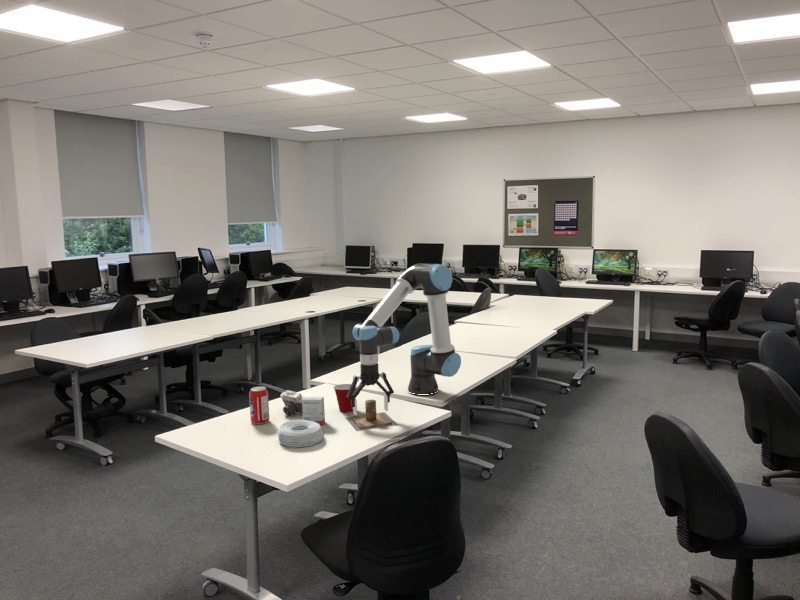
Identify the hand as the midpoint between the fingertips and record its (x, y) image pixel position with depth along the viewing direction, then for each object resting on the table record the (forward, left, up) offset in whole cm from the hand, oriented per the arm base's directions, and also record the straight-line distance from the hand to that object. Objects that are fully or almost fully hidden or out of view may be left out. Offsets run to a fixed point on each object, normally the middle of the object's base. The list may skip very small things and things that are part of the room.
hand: (370, 412), depth 254 cm
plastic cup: (+6, -19, -5) cm, 20 cm away
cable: (+31, +8, -5) cm, 33 cm away
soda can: (+44, -20, -5) cm, 49 cm away
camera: (+29, -26, -5) cm, 39 cm away
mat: (0, 0, -4) cm, 4 cm away
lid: (0, 0, -4) cm, 4 cm away
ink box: (+23, -7, -5) cm, 25 cm away
